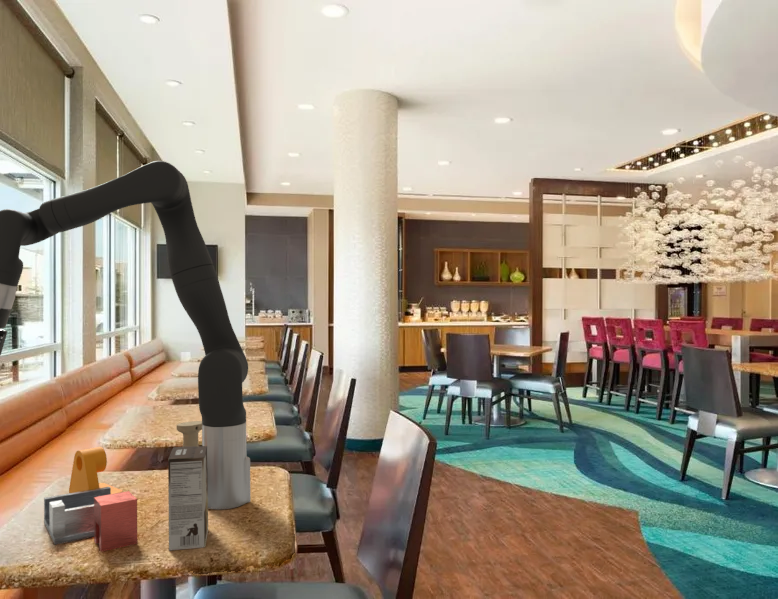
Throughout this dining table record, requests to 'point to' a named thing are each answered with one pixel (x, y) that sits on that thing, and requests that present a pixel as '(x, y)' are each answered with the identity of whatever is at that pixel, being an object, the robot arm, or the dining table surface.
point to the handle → (190, 432)
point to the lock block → (115, 520)
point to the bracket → (89, 470)
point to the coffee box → (188, 497)
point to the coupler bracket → (71, 515)
